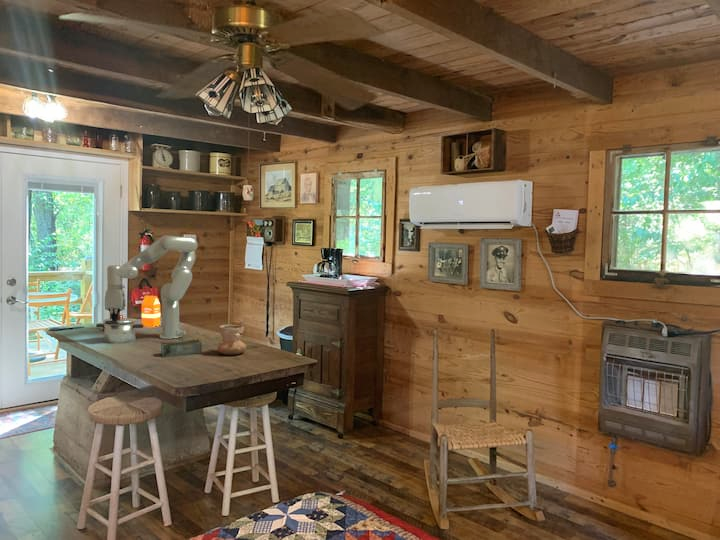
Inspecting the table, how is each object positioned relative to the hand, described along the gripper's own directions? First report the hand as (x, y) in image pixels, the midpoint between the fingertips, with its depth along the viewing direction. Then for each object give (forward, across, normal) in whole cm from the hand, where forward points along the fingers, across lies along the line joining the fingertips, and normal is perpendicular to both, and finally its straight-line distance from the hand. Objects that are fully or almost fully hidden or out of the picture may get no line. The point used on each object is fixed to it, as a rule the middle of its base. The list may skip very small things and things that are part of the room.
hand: (114, 320), depth 306 cm
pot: (+12, 0, -5) cm, 13 cm away
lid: (+1, 0, -4) cm, 4 cm away
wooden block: (+12, +20, -36) cm, 43 cm away
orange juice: (+12, +2, -53) cm, 55 cm away
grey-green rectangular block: (+12, -46, +24) cm, 53 cm away
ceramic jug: (+12, -70, +21) cm, 74 cm away
